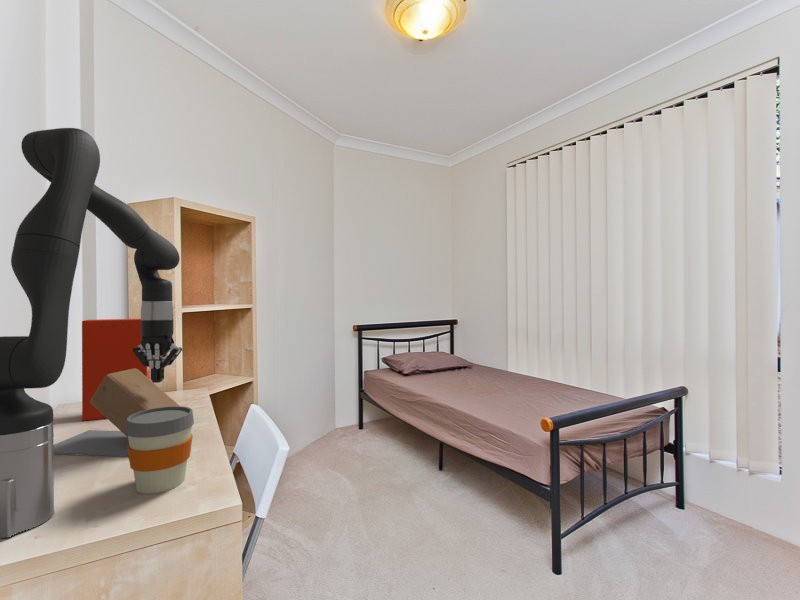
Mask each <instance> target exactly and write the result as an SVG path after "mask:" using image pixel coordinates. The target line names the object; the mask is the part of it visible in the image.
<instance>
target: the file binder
mask: <svg viewBox="0 0 800 600" xmlns="http://www.w3.org/2000/svg"><path fill="white" fill-rule="evenodd" d="M141 340H142V336H141V318H113V319H111V318H108V319H107V318H106V319H103V318H102V319H100V318H99V319H85V320H84V319H83V320H81V373H82V374H81V387H82V388H81V392H82V393H81V396H82V398H81V399H82V400H81V401H82V402H81V403H82V405H81V408H82V409H81V414H82V415H81V417H82V419H81V421H82V422H85V421H86V422H87V421H94V420H95V421H96V420H103V419H104V418H105V419H107V418H106V417H105V416H104V415H103V414H102V413H101V412H99V411H98V410H97V409H96V408H95V407H94V406H93V405H92V404H91V403H90V400H91V398H92V397H93V395H94V393H95V392H96V390H97V388H98V387H99V385H100V384H101V382H102V380H103V379H104V377H105V376H106V375H108V374H111V373H115V372H120V371H124V370H129V369H134V368H135V369H138V370H139V371H140V372H142V373H143V374H144V375H145V376H146V377H147V378H148V379H150V380H151V369H150V368H149V367H147V366H143V364H142V363H141V362H140V360H139V359H138V358H137V356H136V355H135V354H134V352H133V351H132V349H133V348H135V347H138V346H139V345H140V344H141Z"/></svg>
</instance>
